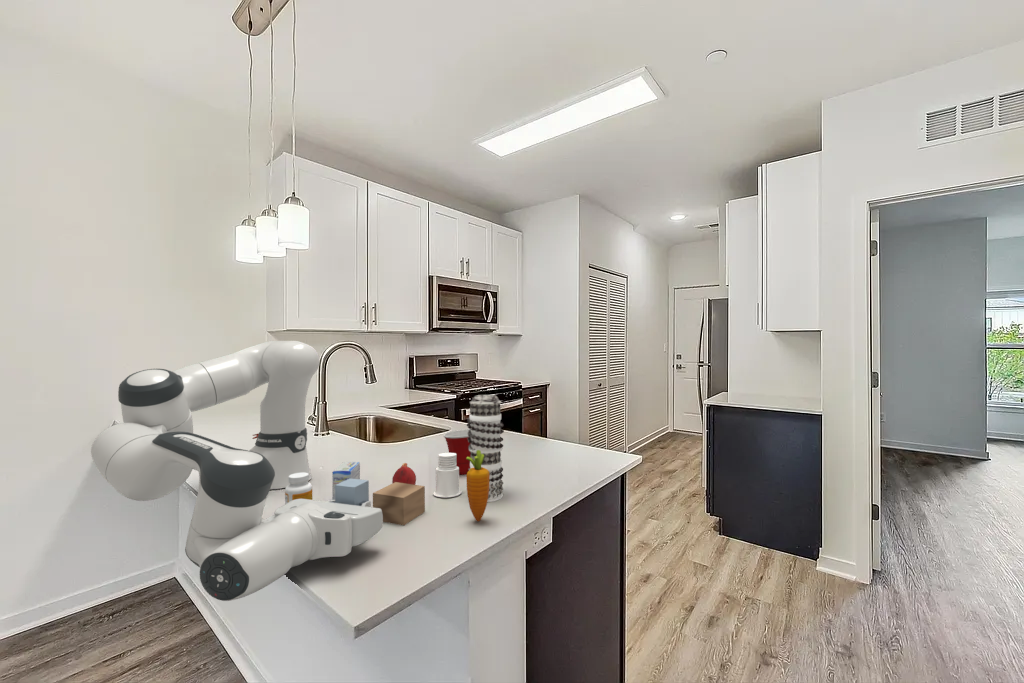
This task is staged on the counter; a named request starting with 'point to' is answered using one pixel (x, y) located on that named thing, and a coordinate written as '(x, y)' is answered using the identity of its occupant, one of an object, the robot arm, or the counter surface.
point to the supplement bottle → (298, 487)
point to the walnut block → (400, 502)
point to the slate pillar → (352, 491)
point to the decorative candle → (487, 439)
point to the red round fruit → (404, 475)
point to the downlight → (447, 476)
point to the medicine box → (345, 474)
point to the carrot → (477, 486)
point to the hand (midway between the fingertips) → (355, 503)
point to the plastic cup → (459, 448)
